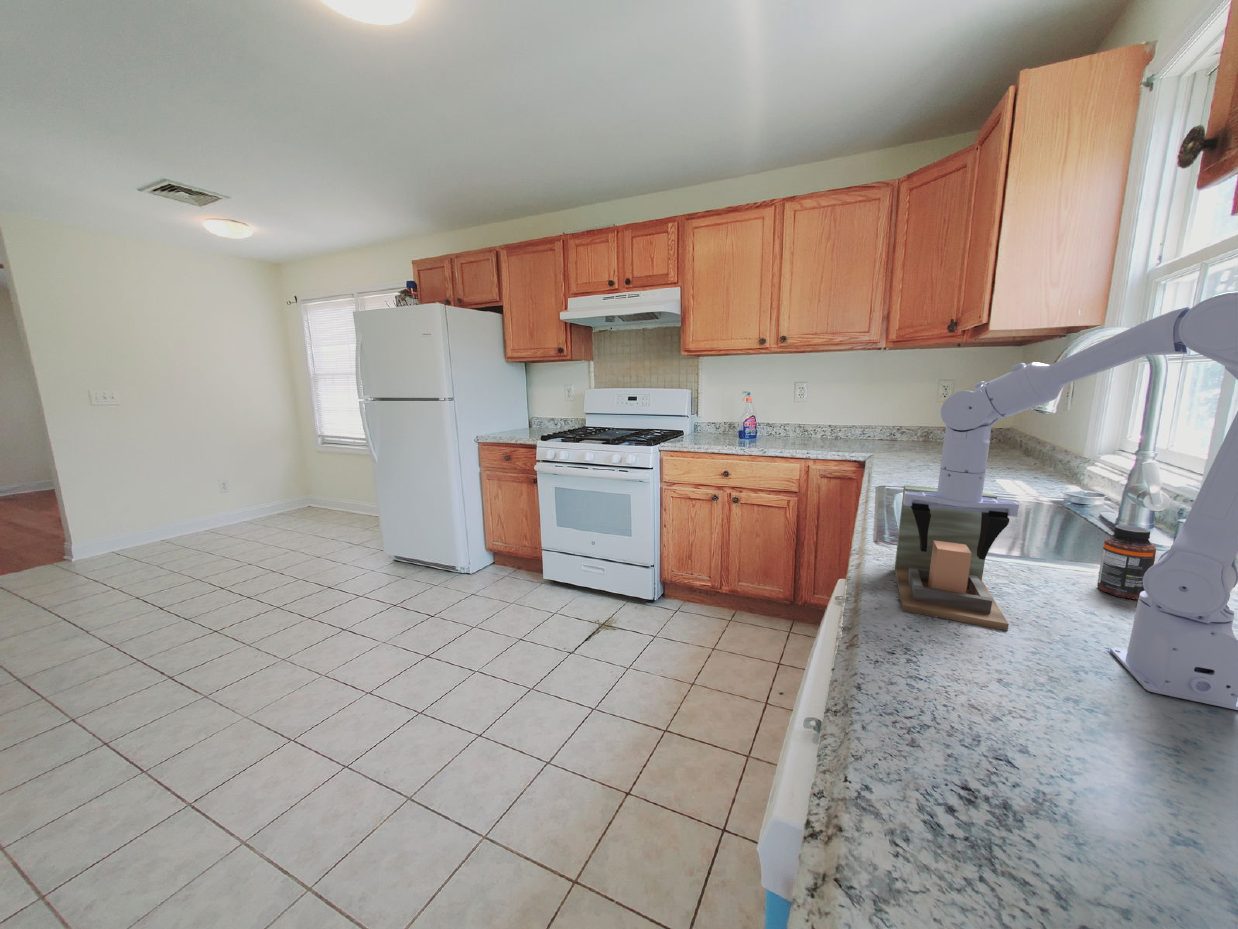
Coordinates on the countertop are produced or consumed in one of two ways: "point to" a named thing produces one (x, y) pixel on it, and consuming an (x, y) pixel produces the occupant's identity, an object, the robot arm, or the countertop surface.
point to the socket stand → (916, 563)
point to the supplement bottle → (1126, 561)
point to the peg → (949, 566)
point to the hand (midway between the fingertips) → (951, 553)
